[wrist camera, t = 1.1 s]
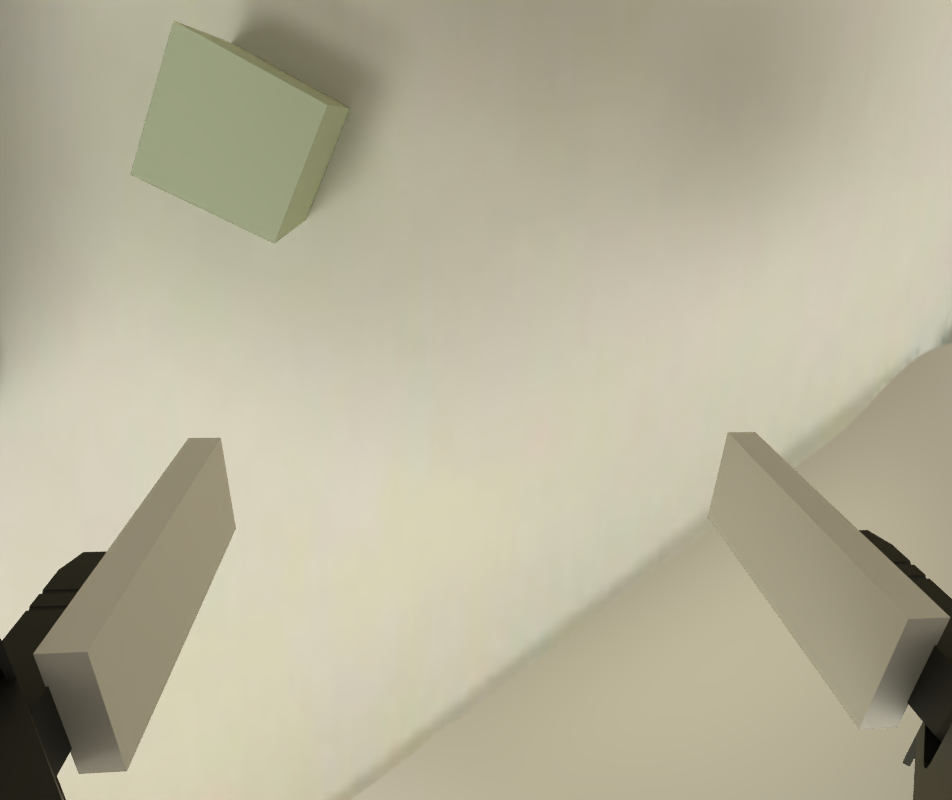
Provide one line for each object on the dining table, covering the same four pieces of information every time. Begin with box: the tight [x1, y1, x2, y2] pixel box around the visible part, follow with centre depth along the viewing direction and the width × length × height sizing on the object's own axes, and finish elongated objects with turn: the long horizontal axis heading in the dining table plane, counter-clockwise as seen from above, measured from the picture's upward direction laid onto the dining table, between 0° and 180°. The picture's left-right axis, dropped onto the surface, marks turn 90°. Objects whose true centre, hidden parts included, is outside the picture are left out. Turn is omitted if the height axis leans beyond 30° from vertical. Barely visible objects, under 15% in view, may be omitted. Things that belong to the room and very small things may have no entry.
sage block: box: [130, 21, 350, 243], centre depth 27 cm, size 6×6×7 cm
